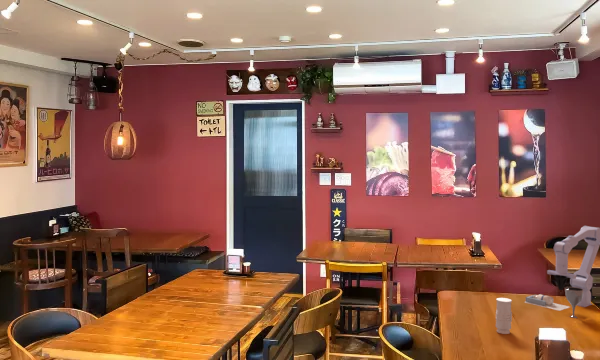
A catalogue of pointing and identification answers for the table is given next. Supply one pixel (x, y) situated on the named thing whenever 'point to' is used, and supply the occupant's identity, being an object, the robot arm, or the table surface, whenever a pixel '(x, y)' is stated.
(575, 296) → the wine glass
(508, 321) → the candle
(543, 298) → the bottle
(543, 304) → the cradle
